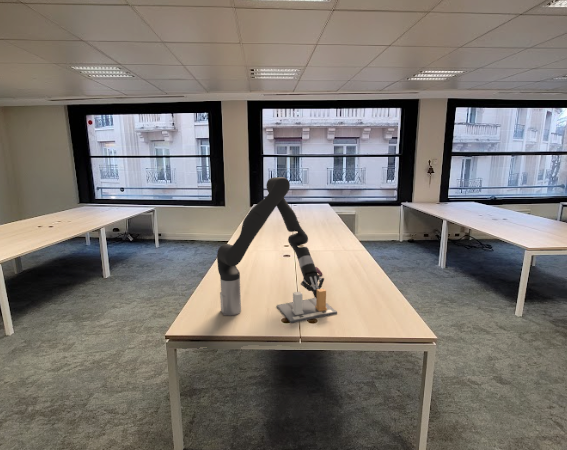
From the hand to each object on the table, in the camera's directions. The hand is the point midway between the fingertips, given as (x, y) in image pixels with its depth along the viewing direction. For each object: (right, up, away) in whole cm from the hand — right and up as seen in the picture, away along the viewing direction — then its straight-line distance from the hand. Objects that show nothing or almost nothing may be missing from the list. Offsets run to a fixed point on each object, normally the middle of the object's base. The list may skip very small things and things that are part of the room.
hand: (318, 297), depth 160 cm
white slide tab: (-10, -6, -5) cm, 13 cm away
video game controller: (+3, +3, +45) cm, 45 cm away
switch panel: (-6, -6, 0) cm, 8 cm away
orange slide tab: (+1, -5, -2) cm, 6 cm away
